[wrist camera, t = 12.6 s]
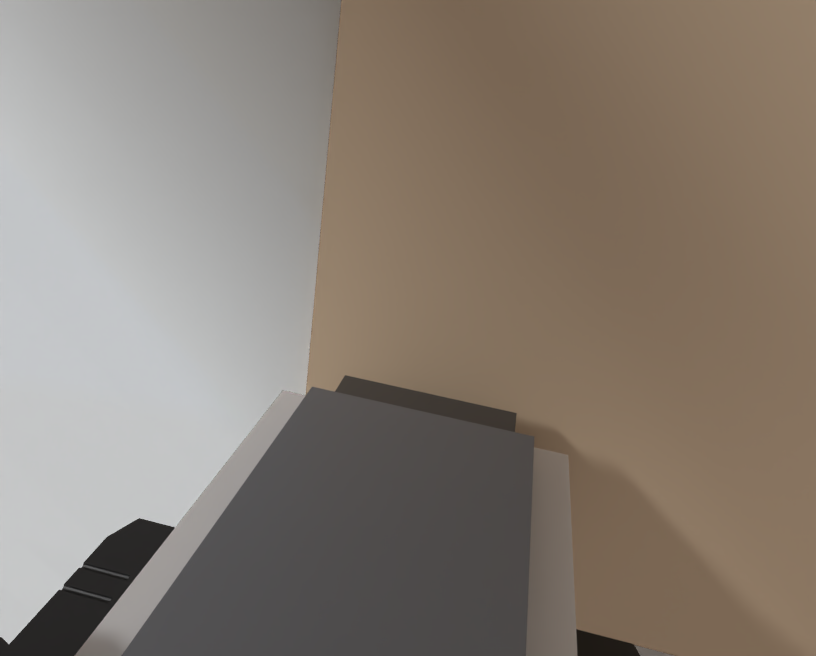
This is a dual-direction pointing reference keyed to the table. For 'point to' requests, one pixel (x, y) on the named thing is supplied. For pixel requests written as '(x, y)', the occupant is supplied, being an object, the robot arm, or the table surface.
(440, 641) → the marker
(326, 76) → the table surface
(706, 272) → the tan board
